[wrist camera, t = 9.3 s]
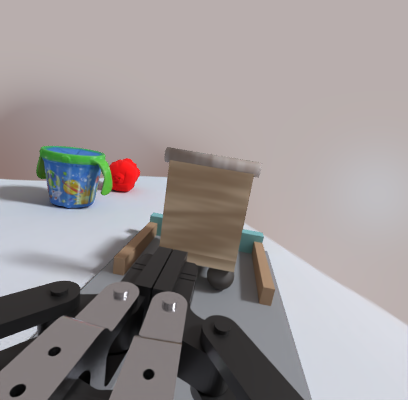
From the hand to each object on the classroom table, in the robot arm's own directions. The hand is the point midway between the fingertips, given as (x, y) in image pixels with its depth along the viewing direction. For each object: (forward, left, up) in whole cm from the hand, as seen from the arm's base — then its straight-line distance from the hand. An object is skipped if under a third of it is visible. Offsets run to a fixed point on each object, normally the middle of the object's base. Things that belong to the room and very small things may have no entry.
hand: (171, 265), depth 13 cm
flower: (-39, +37, -10) cm, 55 cm away
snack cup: (-36, +22, -10) cm, 43 cm away
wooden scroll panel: (-6, +17, -9) cm, 20 cm away
